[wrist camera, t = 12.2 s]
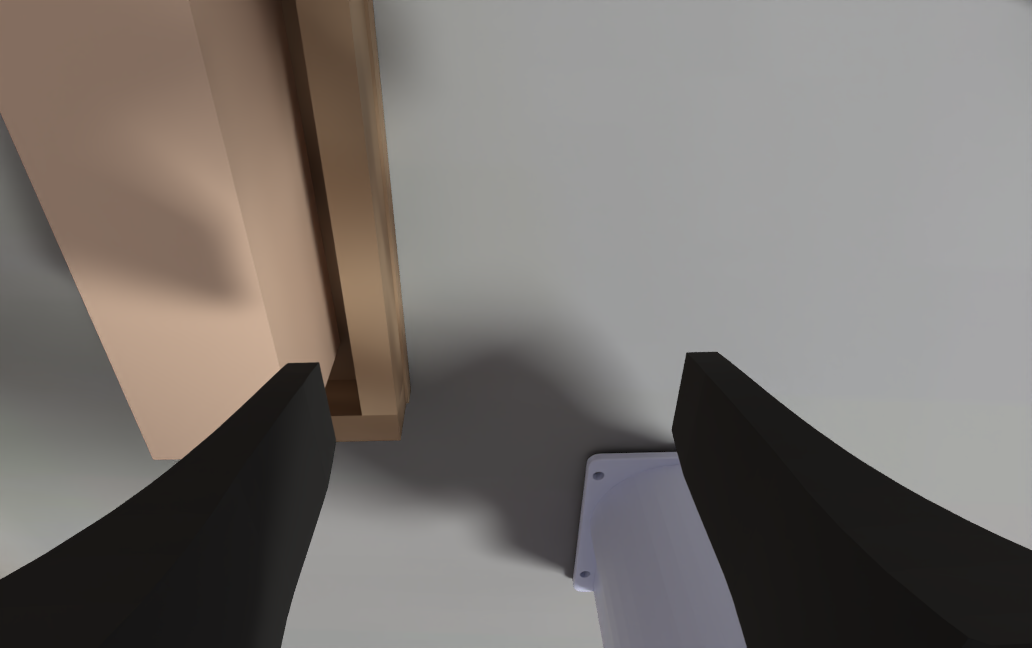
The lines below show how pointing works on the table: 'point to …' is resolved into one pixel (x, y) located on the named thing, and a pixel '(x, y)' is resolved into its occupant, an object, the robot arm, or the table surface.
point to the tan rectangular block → (174, 195)
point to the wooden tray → (352, 211)
